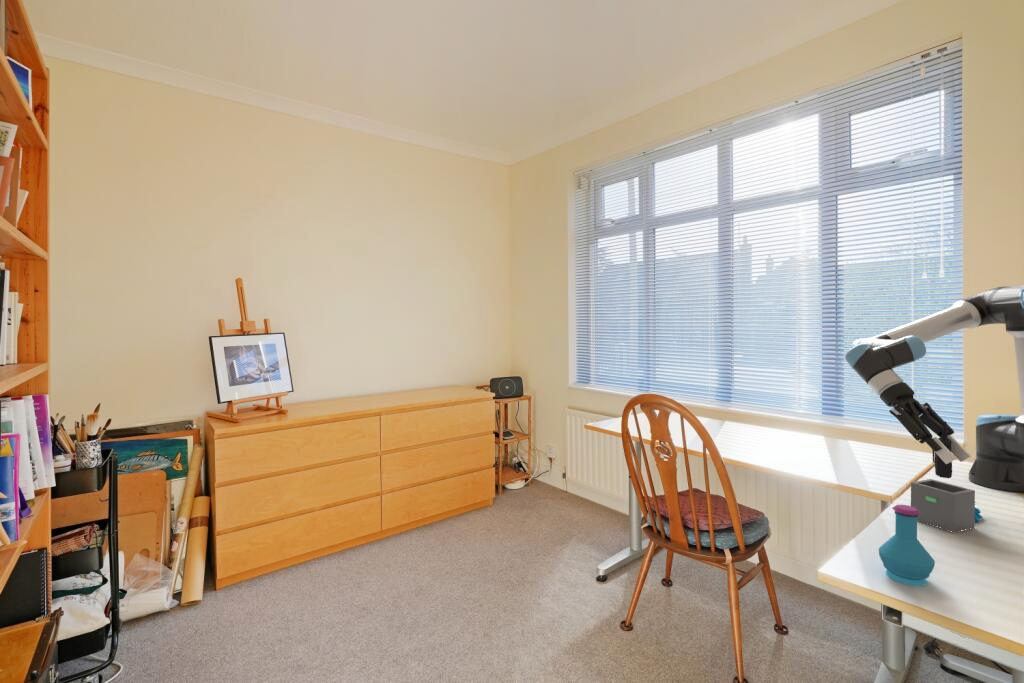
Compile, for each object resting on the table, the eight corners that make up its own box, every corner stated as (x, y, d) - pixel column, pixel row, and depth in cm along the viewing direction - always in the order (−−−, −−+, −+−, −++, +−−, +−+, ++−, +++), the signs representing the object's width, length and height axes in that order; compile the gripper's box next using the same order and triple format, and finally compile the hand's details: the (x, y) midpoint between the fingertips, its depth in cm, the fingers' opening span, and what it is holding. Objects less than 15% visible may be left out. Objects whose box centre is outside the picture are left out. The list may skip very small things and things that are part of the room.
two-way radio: (952, 480, 123) (952, 422, 123) (929, 476, 126) (929, 421, 126) (951, 474, 128) (951, 418, 127) (929, 471, 130) (929, 417, 130)
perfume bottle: (939, 593, 95) (940, 519, 94) (881, 581, 100) (881, 510, 99) (929, 573, 102) (930, 504, 102) (875, 562, 107) (876, 496, 107)
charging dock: (930, 514, 133) (930, 478, 133) (974, 528, 124) (974, 490, 123) (909, 518, 130) (910, 482, 130) (953, 533, 121) (953, 494, 121)
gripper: (902, 395, 144) (968, 463, 128) (859, 398, 138) (923, 471, 123) (923, 379, 138) (994, 449, 123) (879, 382, 133) (947, 456, 118)
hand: (958, 459), depth 123 cm, fingers closed on two-way radio, 5 cm apart
